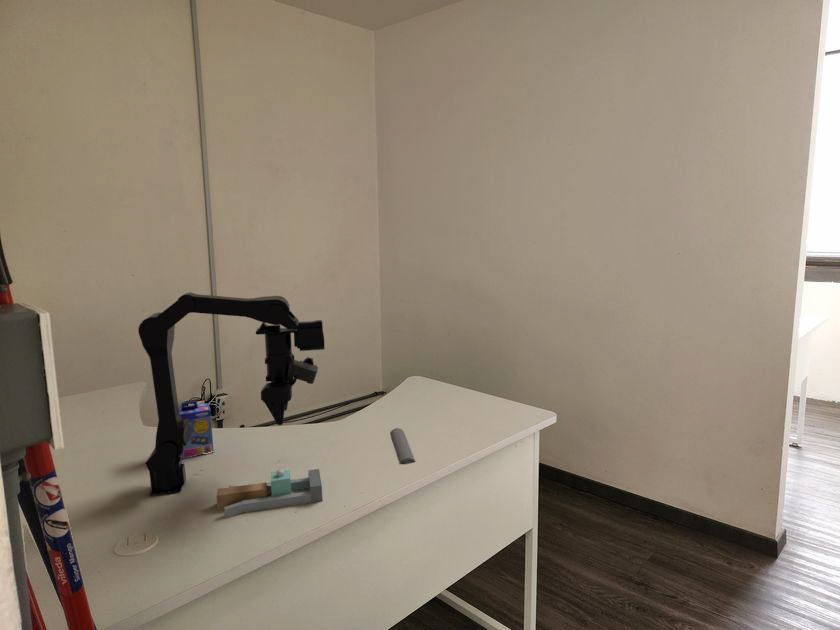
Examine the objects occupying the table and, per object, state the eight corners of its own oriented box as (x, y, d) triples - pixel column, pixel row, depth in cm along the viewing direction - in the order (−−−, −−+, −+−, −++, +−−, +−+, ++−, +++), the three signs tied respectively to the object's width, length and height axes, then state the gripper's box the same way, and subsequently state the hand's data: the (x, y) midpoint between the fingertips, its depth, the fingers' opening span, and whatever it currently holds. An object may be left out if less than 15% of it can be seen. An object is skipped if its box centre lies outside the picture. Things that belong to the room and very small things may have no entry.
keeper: (272, 502, 115) (270, 476, 114) (272, 492, 119) (270, 468, 118) (291, 499, 116) (289, 474, 115) (291, 490, 120) (289, 465, 119)
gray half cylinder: (404, 433, 152) (404, 427, 152) (416, 464, 133) (416, 457, 133) (389, 434, 151) (389, 428, 151) (399, 465, 132) (398, 459, 132)
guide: (223, 518, 110) (222, 502, 109) (228, 493, 119) (226, 478, 119) (323, 503, 114) (322, 488, 114) (319, 480, 124) (318, 466, 124)
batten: (218, 511, 113) (216, 495, 112) (219, 503, 116) (218, 488, 115) (267, 504, 115) (266, 488, 115) (267, 497, 118) (266, 482, 117)
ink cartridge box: (173, 461, 136) (167, 406, 133) (172, 453, 141) (166, 400, 138) (215, 453, 140) (210, 399, 138) (212, 445, 145) (207, 393, 143)
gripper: (312, 361, 115) (315, 430, 117) (316, 341, 133) (319, 402, 136) (258, 363, 113) (262, 433, 116) (270, 343, 131) (273, 404, 134)
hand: (282, 417), depth 125 cm, fingers open, 9 cm apart
